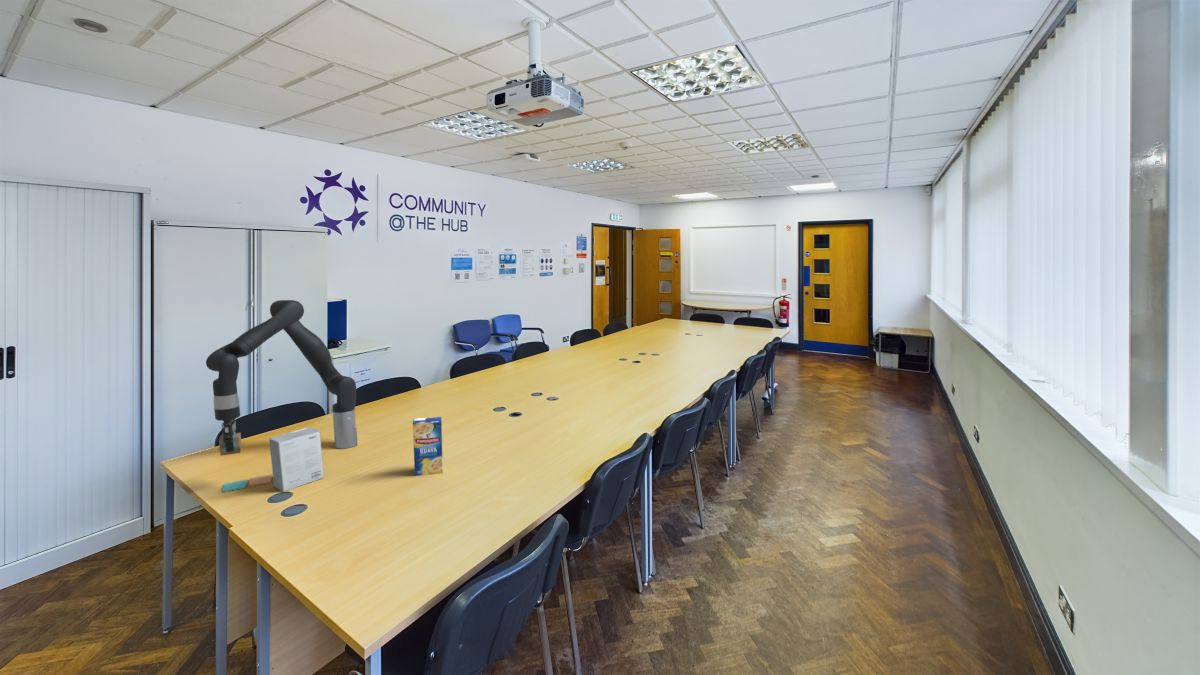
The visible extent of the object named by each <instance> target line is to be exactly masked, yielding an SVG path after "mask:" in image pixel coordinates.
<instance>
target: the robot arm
mask: <svg viewBox="0 0 1200 675" xmlns="http://www.w3.org/2000/svg"><path fill="white" fill-rule="evenodd" d="M269 313H270V316H271V317H270V318H269V319H267V320H265V321H263V322H262V323H259V324H257V325H255V326H254V327H251V328H250V329H248V330H246V331H245V332H243V333H242V334H240V336H238V337H236V338H235V339H234V340H233V341H232V342H230V343H228V344H226V345H223V346H222V347H220V348H218V349H216V350H214V351H212V352H211V353H210V354H209V356H207V358H206V360H205V361H206V362H205V365H206V367H207V368H208V369H209V370H210V371H213V372H218V377H217V378H216V379H214V380H213V381H212V391H213V392H212V393H213V409H214V417H215V420H216V421H223V422H222V424H221V430H222V435H223V438H224V443H226V452H233V451H234V446H233V441H234V440H233V436H234V435H235V433H237V426H236V425H237V424H236V423H237V422H236V420H235V419H238V418H240V417H241V407H240V397H239V394H238V389H237V388H238V387H237V386H238V384H237V380H238V375H239V370H240V361H239V359H238V358H244V357H247V356H249V355H250V354H251V353H253V352H254V351H255V350H257V349H258V348H259V347H260V346H261V345H263V344H264V343H265V342H266V341H268V340H269V339H270V338H272V337H273V336H275V335H276V334H277V333H279V332H281V331H282V330H283V331H284V332H285V333H286V334H287V335H288V337H289V338H290V339H291V340H292V342H293V343H294V344H295V345H296V347H297V349H298V350H299V351H300V353H301V354H302V355H303V356H304V358H305V359H306V360H307V361H308V363H309V364H310V365H311V367H312V368H313V369H314V370H315V372H316V373H317V374H318V375H319V376H320V378H321V380H322V382H323V383H324V386H325V387H326V388H327V390H328V391H329V392H330V393H331V394H333V396H334V395H335V396H336V402H335V403H333V405H332V407H331V409H332V420H333V437H334V448H336V449H342V450H343V449H350V448H353V447H355V446H356V447H357V446H358V429H357V422H356V403H357V384H356V381H355V379H354V378H352V377H350V376H345V375H342V374H341V373H340V371H338V370H337V369H336V367H335V365H334V364H333V361H332V356H331V352H330V350H329V348H328V346H327V345H326V344H325V343H324V341H323V340H322V339H321V338H320V337H319V336H318V335H317V334H315V333H314V332H313V331H311V330H310V329H309V328H307V327H306V326H304V324H302V322H301V321H300V320H301V319H302V317H303V316H304V313H305V308H304V306H303V304H302V303H301V302H299V301H297V300H295V299H280V300H276V301H275V300H274V302H272V303H271V305H270V306H269ZM228 436H230V439H227V437H228Z"/></svg>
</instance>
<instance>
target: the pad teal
mask: <svg viewBox="0 0 1200 675" xmlns="http://www.w3.org/2000/svg"><path fill="white" fill-rule="evenodd" d="M247 482H248V480H247V479H244V480H243V479H242V480H237V481H232V482H226V483H224V485H223V488H222V489H221V490H222V491H221V492H222V493H226V492H225V491H228V492H233V491H238V490H237V489H239V490H243V488H244V489H246V488H247ZM232 490H233V491H232Z"/></svg>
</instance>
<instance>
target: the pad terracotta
mask: <svg viewBox="0 0 1200 675" xmlns="http://www.w3.org/2000/svg"><path fill="white" fill-rule="evenodd" d="M271 483H272V474H266V475H262V476H260V475H259V476H254V477H249V482H248V487H253V486H259V485H260V484H261V485H265V484H271Z"/></svg>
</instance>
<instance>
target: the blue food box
mask: <svg viewBox="0 0 1200 675" xmlns="http://www.w3.org/2000/svg"><path fill="white" fill-rule="evenodd" d="M442 423H443V422H442V416H436V417H435V416H434V417H420V418H413V420H412V438H413V442H412V443H413V461H414V462H413V463H414V477H418V476H419V477H420V476H428V475H436V474H437V475H439V474H444V472H443V471H444V469H443V468H444V463H443V462H444V460H443V433H442V430H443V428H442V426H443V424H442Z"/></svg>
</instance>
